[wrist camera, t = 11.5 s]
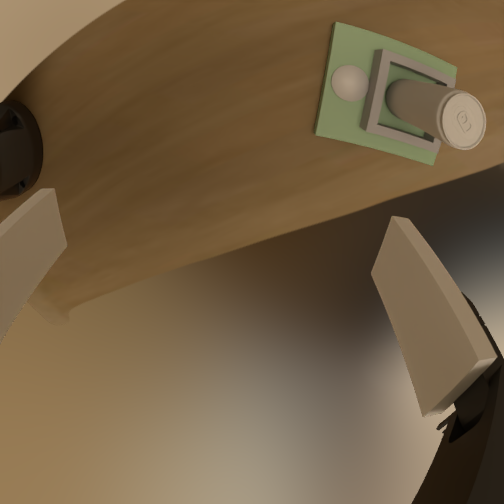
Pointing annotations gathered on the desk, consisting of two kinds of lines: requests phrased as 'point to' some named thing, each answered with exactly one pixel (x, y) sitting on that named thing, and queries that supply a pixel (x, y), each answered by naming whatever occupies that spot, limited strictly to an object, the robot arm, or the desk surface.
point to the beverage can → (438, 111)
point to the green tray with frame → (375, 92)
